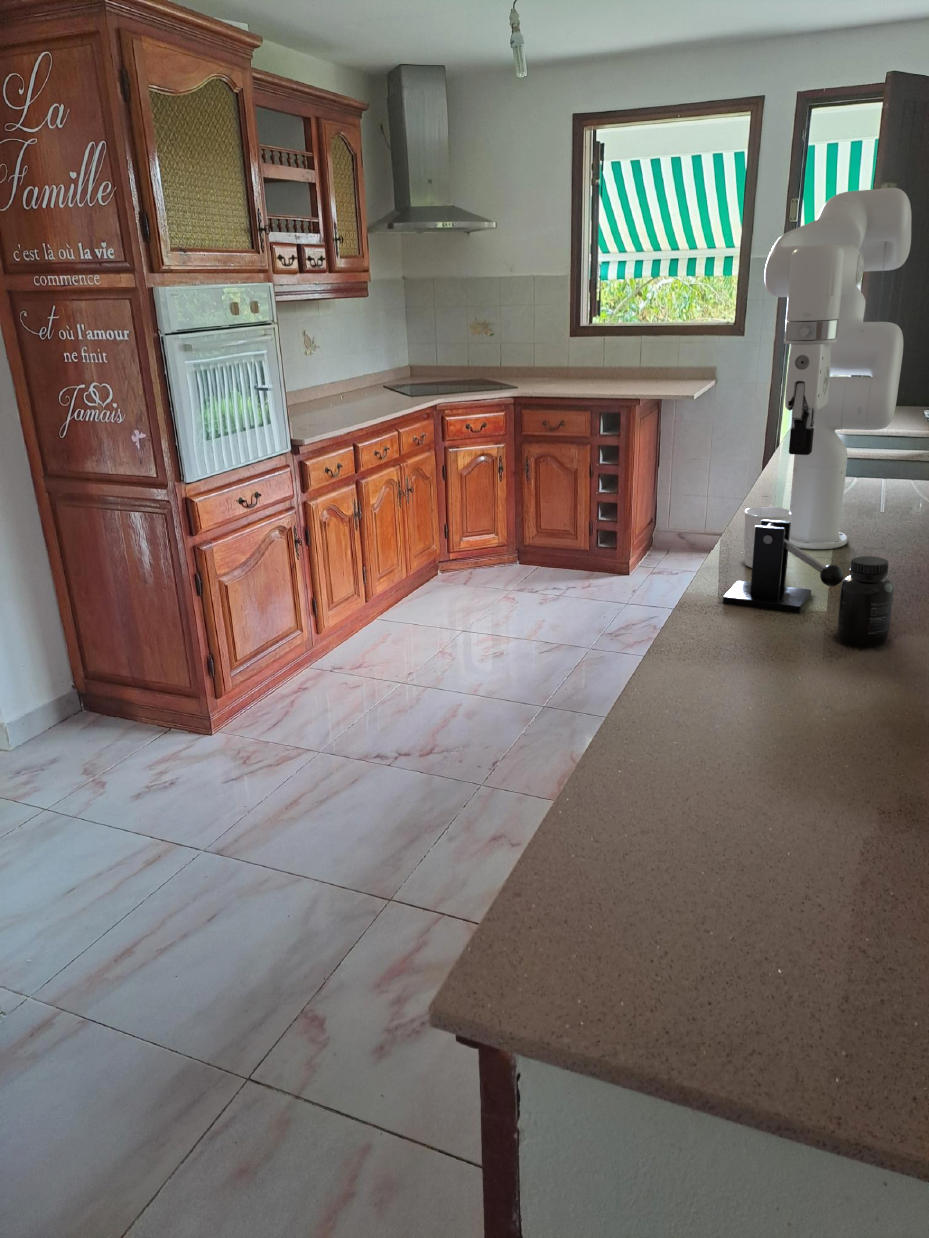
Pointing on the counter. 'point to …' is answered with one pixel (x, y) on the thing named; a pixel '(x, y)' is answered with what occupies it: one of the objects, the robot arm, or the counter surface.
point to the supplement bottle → (865, 603)
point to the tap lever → (816, 564)
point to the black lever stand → (769, 574)
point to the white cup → (754, 518)
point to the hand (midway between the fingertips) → (800, 453)
